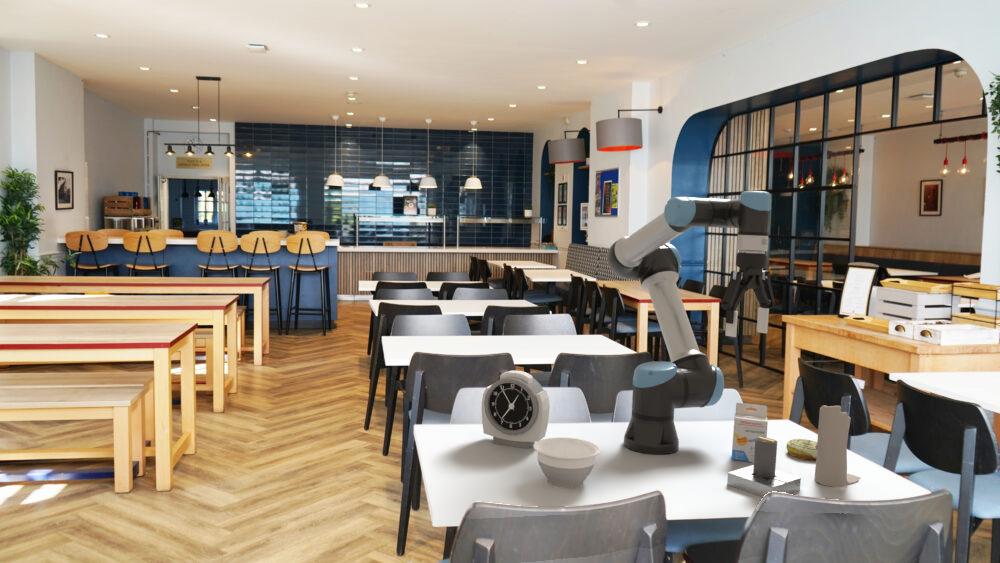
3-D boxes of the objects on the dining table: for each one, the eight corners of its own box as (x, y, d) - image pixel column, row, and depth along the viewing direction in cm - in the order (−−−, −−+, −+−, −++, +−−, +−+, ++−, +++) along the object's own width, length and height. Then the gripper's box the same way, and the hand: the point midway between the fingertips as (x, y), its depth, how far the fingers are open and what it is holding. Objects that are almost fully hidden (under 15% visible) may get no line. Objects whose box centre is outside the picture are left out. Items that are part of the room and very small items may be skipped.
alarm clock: (478, 442, 212) (480, 370, 210) (490, 434, 220) (492, 365, 218) (539, 452, 205) (542, 378, 203) (549, 443, 213) (552, 372, 211)
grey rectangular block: (748, 483, 184) (751, 437, 183) (760, 480, 188) (763, 434, 187) (766, 490, 181) (769, 443, 180) (778, 486, 184) (781, 440, 183)
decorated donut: (822, 464, 204) (823, 451, 203) (781, 456, 210) (782, 442, 210) (831, 455, 212) (832, 442, 212) (791, 447, 218) (792, 434, 218)
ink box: (731, 460, 204) (735, 406, 203) (731, 454, 209) (735, 402, 208) (765, 464, 202) (768, 409, 200) (764, 459, 206) (768, 405, 205)
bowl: (550, 497, 172) (552, 460, 172) (521, 474, 187) (522, 440, 186) (611, 489, 179) (613, 454, 178) (577, 468, 193) (579, 435, 193)
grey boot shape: (867, 479, 192) (873, 401, 191) (834, 488, 185) (840, 407, 183) (841, 471, 198) (847, 395, 197) (808, 479, 191) (814, 401, 189)
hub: (727, 484, 185) (727, 471, 185) (755, 475, 192) (756, 463, 192) (771, 500, 176) (772, 486, 175) (799, 490, 183) (800, 477, 183)
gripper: (735, 253, 184) (729, 340, 186) (792, 252, 199) (786, 333, 201) (709, 251, 190) (704, 335, 192) (767, 251, 205) (761, 329, 207)
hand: (746, 334), depth 197 cm, fingers open, 13 cm apart
